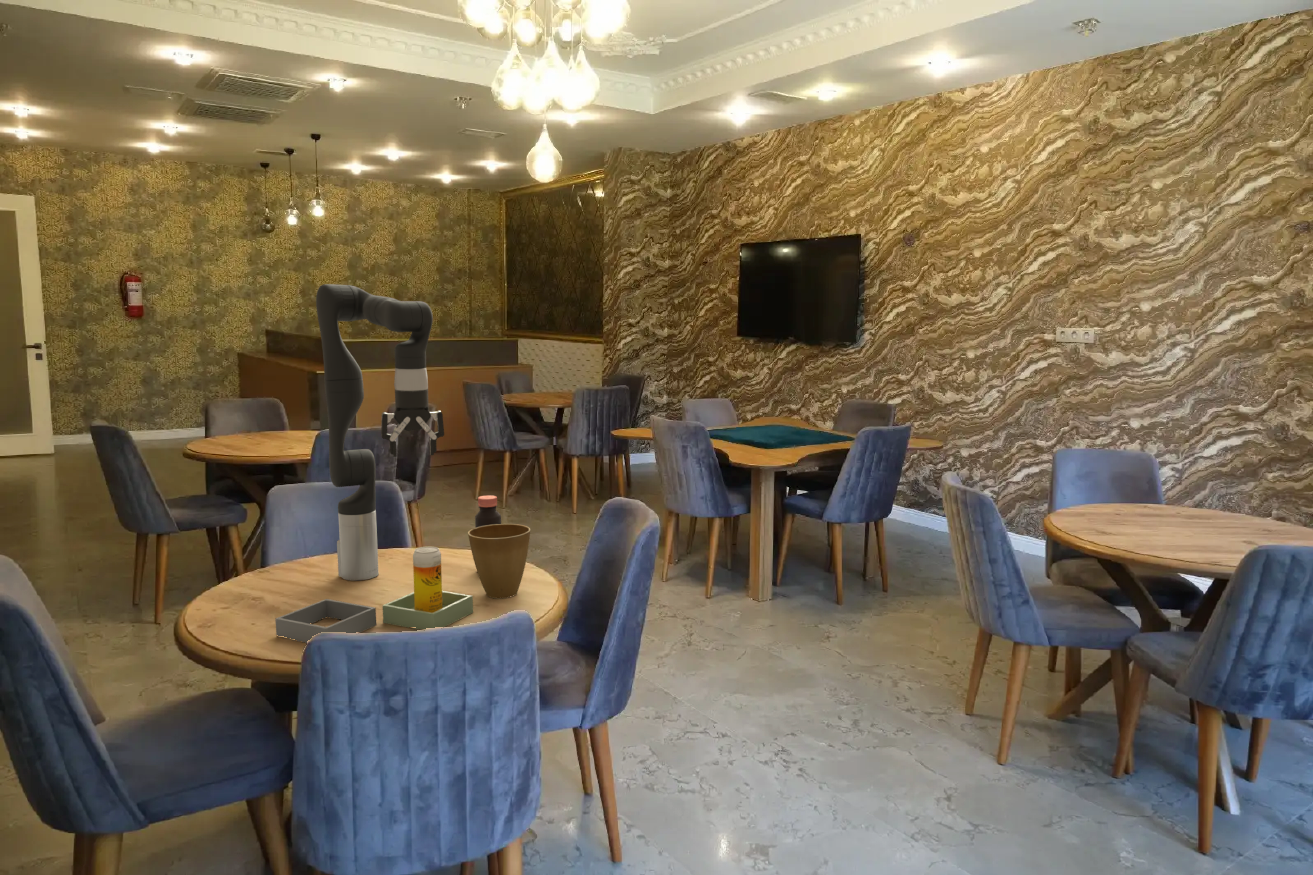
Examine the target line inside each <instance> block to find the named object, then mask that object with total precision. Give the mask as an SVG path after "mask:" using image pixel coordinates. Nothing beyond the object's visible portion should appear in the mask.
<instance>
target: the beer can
mask: <svg viewBox="0 0 1313 875" xmlns="http://www.w3.org/2000/svg"><path fill="white" fill-rule="evenodd" d="M412 554H413V555H412V565H413V567H412V569H413V570H412V571H413V592H414V604H415V610H419V611H425V612H430V613H434V612H436V611H438V610H440V609H442V591H443V581H442V579H443V578H442V577H443V575H442V553H441V551H440V548H439V547H437V546H428V545H427V546H420V547H417V548H414V551H413V553H412Z"/></svg>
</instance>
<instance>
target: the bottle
mask: <svg viewBox="0 0 1313 875" xmlns="http://www.w3.org/2000/svg"><path fill="white" fill-rule="evenodd" d="M477 504H478V508H479V511H478V512H477V513H476V515H475V516H474V526H475V528H477V527H481V526H486V525H494V524H502V516H501V513H500V512H499V511H498V510H497V507H498V497H497V496H496V495H490V494H489V495H480V496H478V497H477Z"/></svg>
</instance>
